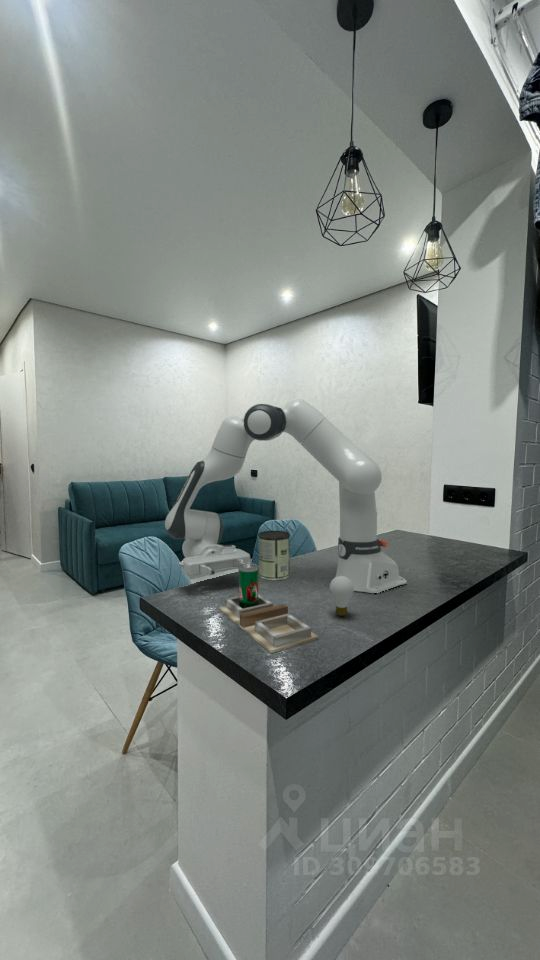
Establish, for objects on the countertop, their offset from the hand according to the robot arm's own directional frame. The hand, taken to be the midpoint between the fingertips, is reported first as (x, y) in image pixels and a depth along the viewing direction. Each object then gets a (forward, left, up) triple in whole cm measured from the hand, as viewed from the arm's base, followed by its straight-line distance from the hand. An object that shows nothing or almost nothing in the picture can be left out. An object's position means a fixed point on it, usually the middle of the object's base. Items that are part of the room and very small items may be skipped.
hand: (227, 569), depth 110 cm
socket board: (-3, +20, -8) cm, 22 cm away
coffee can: (-20, -12, -8) cm, 24 cm away
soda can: (-2, +12, -8) cm, 15 cm away
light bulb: (-22, +24, -8) cm, 33 cm away
